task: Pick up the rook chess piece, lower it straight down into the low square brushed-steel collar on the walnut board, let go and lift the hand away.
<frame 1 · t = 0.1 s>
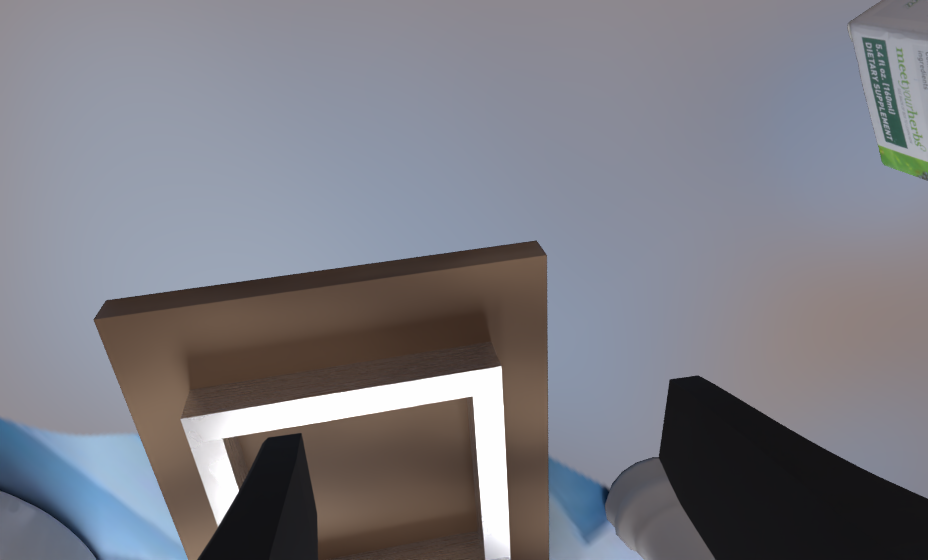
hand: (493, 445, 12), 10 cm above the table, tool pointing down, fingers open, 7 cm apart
collar board: (364, 453, 25), on the table
rook chess piece: (646, 486, 29), on the table
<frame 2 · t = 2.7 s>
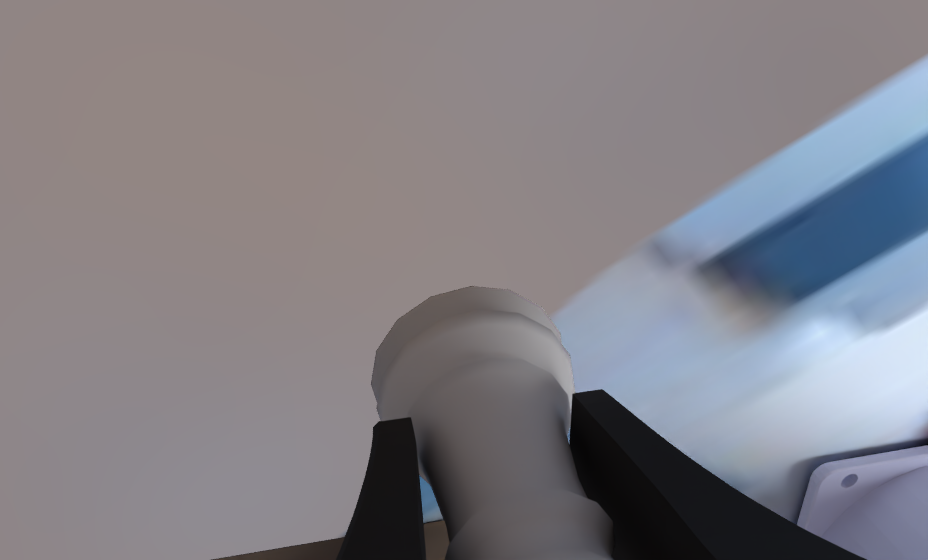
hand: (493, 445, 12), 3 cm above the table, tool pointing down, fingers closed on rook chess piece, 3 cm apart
rook chess piece: (464, 356, 15), on the table, touching gripper
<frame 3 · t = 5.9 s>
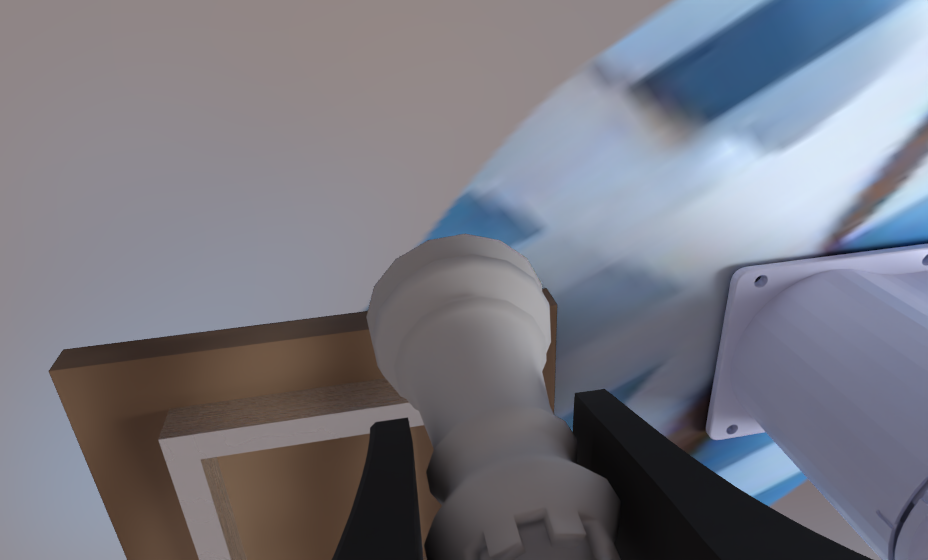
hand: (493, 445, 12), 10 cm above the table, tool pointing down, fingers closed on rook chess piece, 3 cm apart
collar board: (344, 472, 25), on the table
rook chess piece: (452, 300, 16), point 5 cm above the table, touching gripper
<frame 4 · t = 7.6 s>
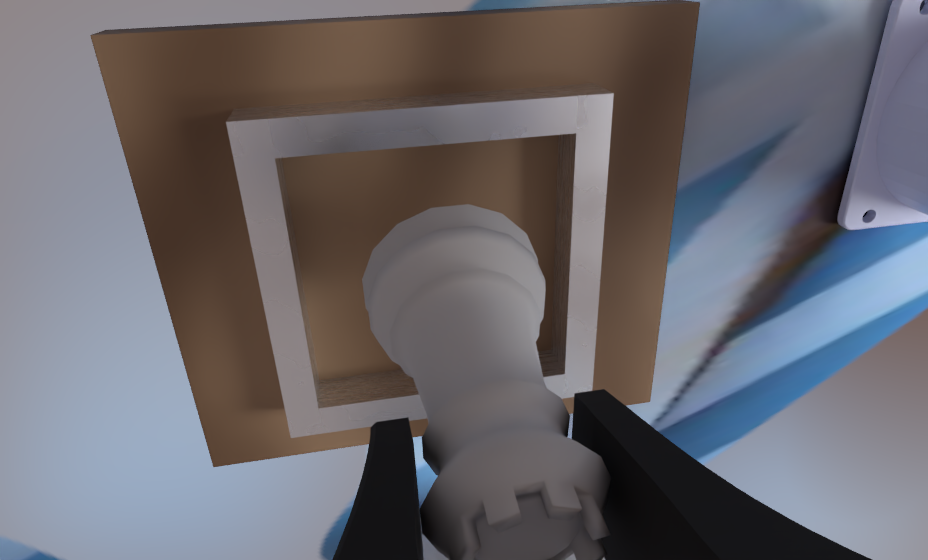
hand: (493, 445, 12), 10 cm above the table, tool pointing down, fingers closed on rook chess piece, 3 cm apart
collar board: (426, 243, 21), on the table
rook chess piece: (447, 268, 16), point 5 cm above the table, touching gripper
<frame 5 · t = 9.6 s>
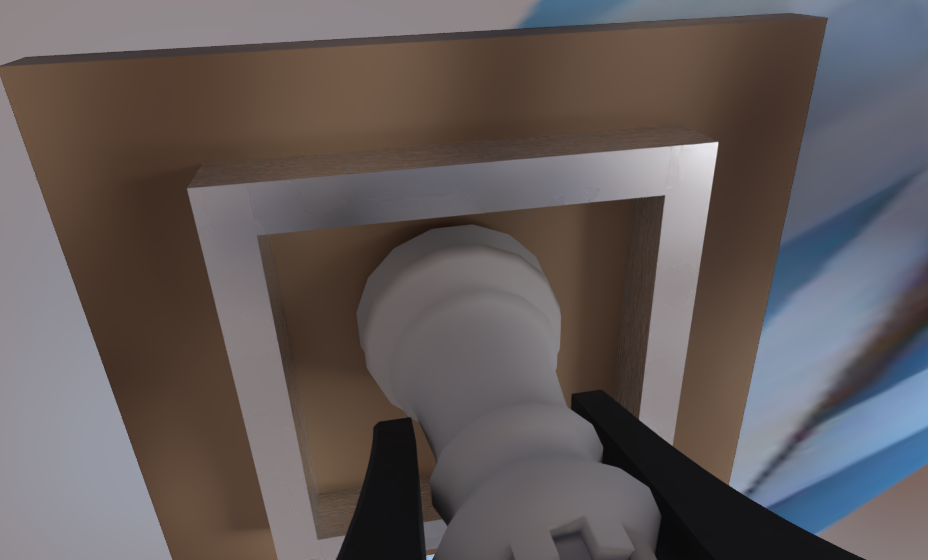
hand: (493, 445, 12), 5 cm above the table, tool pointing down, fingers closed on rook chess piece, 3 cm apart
collar board: (455, 321, 17), on the table
rook chess piece: (450, 301, 15), point 1 cm above the table, touching collar board, gripper
when the fingers open (5 cm above the table, at t = 10.6 s): rook chess piece stays where it is, resting on collar board.
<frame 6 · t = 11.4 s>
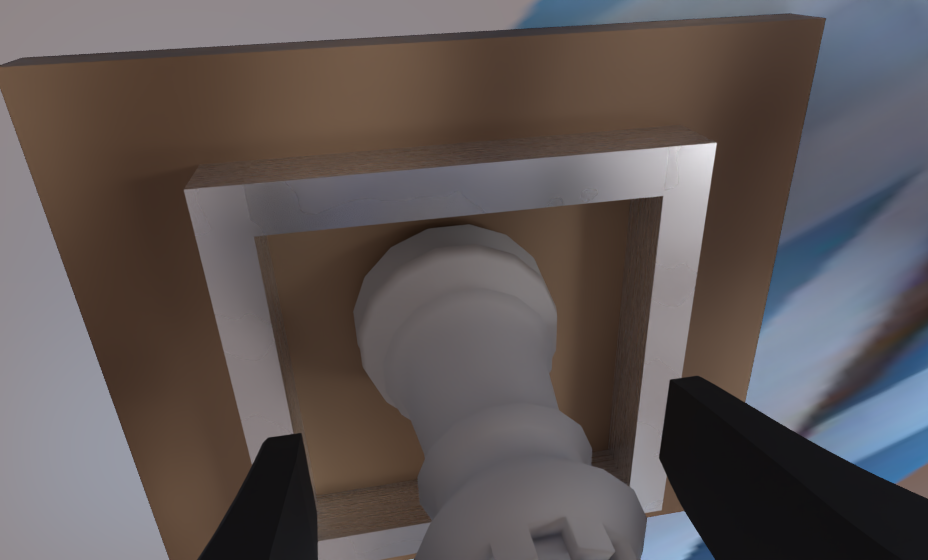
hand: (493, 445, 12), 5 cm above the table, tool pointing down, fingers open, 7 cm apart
collar board: (453, 322, 16), on the table
rook chess piece: (448, 301, 15), point 1 cm above the table, touching collar board
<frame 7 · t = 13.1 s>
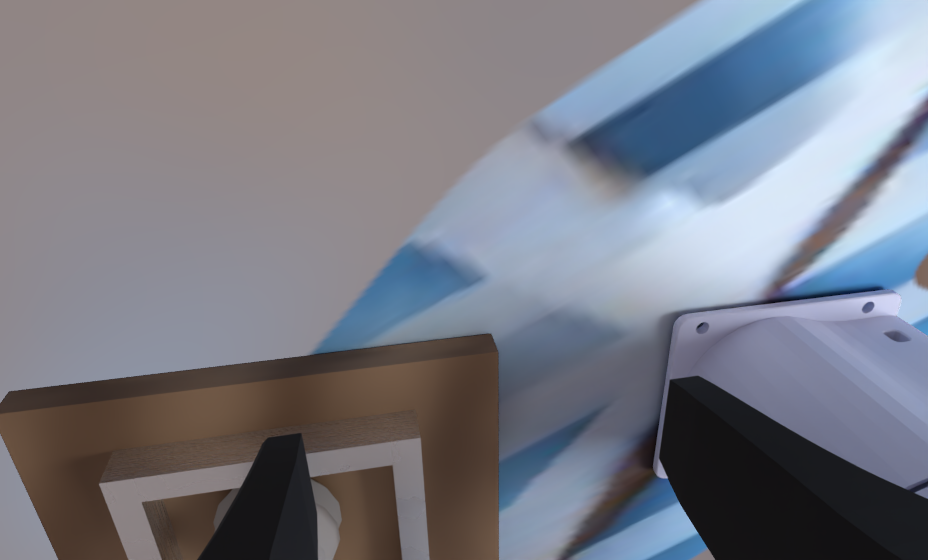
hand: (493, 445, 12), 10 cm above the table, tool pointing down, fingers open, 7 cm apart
collar board: (293, 508, 25), on the table
rook chess piece: (280, 506, 24), point 1 cm above the table, touching collar board
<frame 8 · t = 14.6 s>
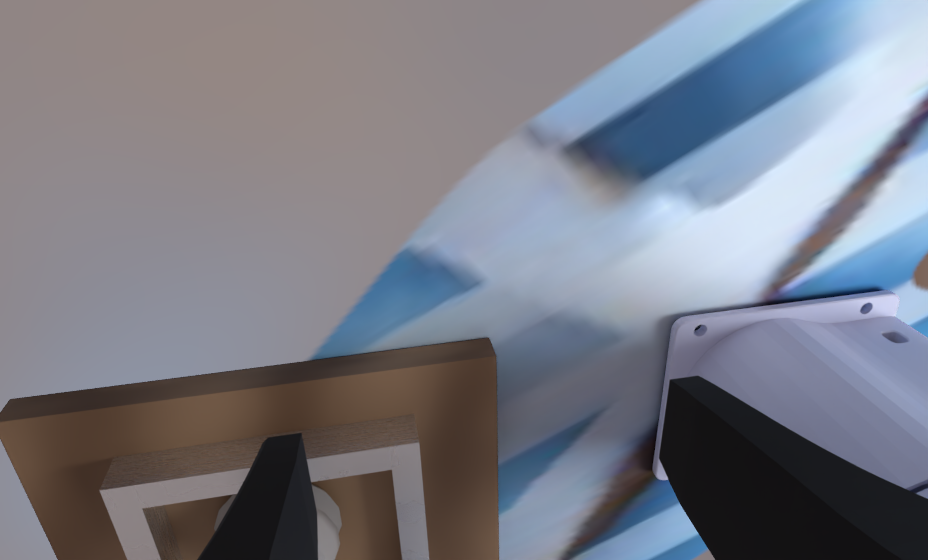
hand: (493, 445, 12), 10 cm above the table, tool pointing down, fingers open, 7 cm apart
collar board: (293, 513, 25), on the table
rook chess piece: (280, 511, 24), point 1 cm above the table, touching collar board
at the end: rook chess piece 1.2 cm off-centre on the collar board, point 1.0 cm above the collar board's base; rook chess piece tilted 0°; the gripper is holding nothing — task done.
